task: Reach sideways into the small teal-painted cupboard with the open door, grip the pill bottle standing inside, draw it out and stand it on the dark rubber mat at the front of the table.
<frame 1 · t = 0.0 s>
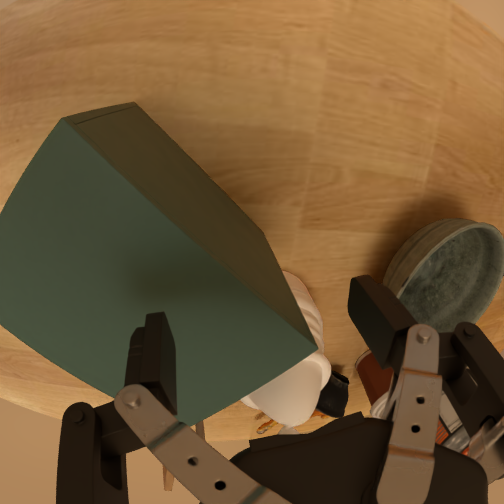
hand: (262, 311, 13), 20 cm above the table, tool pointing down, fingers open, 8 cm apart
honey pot: (261, 310, 39), on the table
cupboard door: (189, 409, 34), point 9 cm above the table, hinge at 125.0°
coffee cup: (370, 358, 50), on the table
cupboard: (156, 213, 30), on the table
bowl: (414, 259, 41), on the table
fried food: (296, 391, 51), on the table
supplement tub: (426, 360, 56), on the table
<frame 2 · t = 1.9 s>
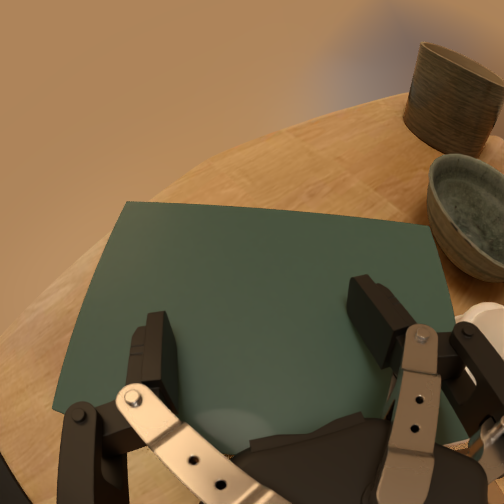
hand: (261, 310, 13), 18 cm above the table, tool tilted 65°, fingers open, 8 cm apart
planter: (442, 134, 60), on the table
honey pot: (428, 394, 26), on the table
cupboard: (261, 390, 28), on the table
bowl: (462, 250, 38), on the table
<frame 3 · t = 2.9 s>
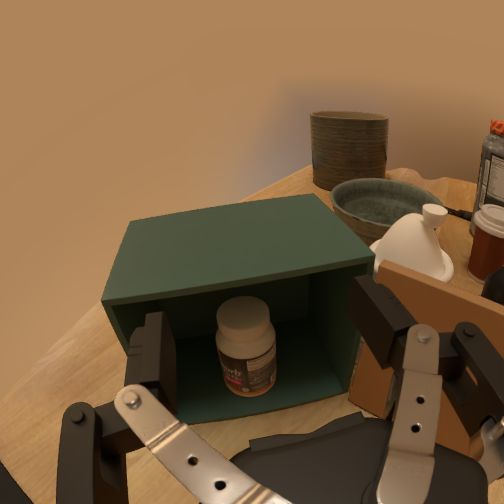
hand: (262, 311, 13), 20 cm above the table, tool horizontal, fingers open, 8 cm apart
pill bottle: (251, 379, 32), resting on cupboard
planter: (348, 182, 87), on the table
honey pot: (389, 337, 36), on the table
knife: (438, 208, 68), on the table
cupboard door: (467, 368, 20), point 9 cm above the table, hinge at 125.0°
coffee cup: (481, 275, 43), on the table
cupboard: (248, 367, 34), on the table
bowl: (382, 247, 54), on the table
supplement tub: (497, 240, 53), on the table
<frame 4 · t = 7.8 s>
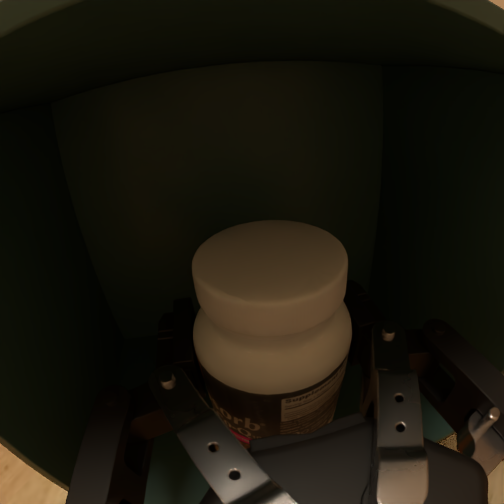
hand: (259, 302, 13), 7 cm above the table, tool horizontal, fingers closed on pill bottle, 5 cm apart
pill bottle: (276, 420, 14), resting on cupboard, touching gripper
cupboard: (268, 395, 16), on the table
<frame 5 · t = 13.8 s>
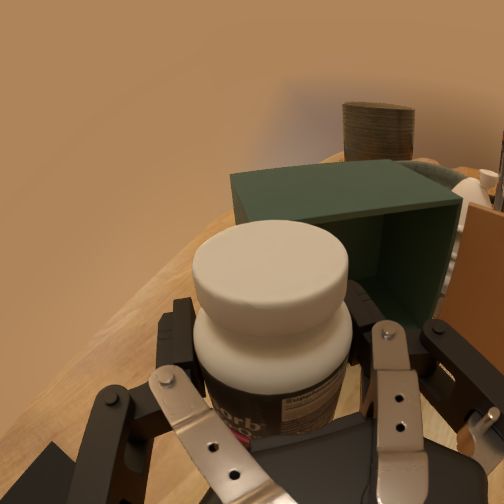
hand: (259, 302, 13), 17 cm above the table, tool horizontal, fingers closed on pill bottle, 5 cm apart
pill bottle: (276, 420, 14), point 11 cm above the table, touching gripper
planter: (377, 169, 88), on the table
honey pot: (447, 293, 37), on the table
cupboard: (333, 321, 36), on the table
bowl: (422, 222, 56), on the table
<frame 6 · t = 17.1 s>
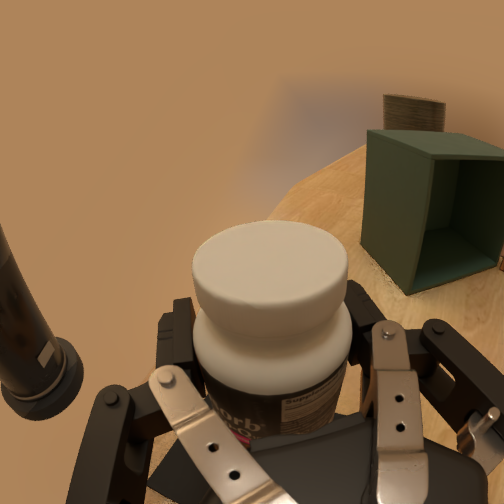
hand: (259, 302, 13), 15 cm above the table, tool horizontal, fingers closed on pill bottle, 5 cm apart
pill bottle: (276, 420, 14), point 9 cm above the table, touching gripper
planter: (412, 154, 93), on the table
mat: (275, 467, 19), on the table
cupboard: (432, 255, 41), on the table
when the fingers open (7 cm above the table, at t = 19.8 s): pill bottle stays where it is, resting on mat.
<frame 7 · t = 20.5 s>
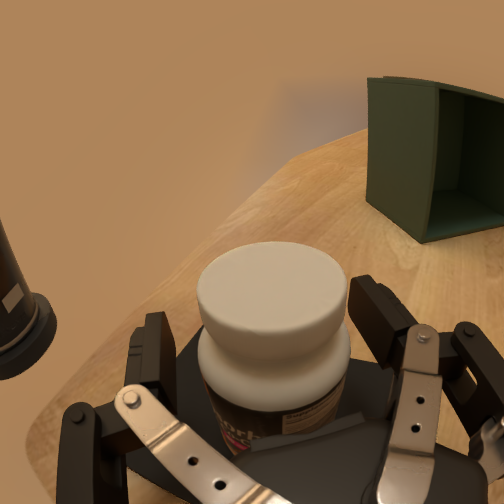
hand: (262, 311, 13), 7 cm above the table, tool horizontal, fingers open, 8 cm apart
pill bottle: (277, 429, 15), resting on mat
mat: (277, 429, 15), on the table
cupboard: (443, 211, 37), on the table
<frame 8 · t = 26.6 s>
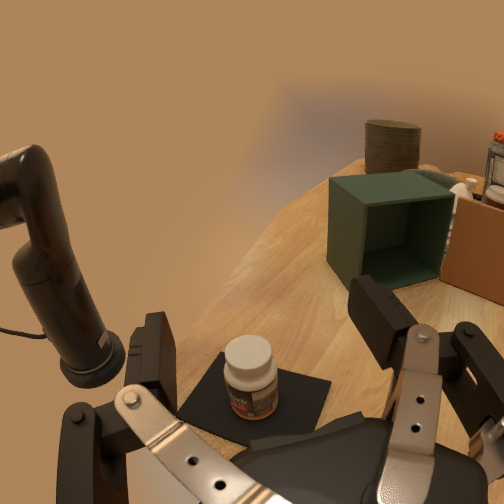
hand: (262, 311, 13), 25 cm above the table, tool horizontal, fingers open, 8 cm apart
pill bottle: (255, 403, 35), resting on mat
planter: (391, 174, 110), on the table
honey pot: (448, 255, 58), on the table
mat: (255, 403, 35), on the table
knife: (457, 192, 91), on the table
cupboard door: (496, 250, 43), point 9 cm above the table, hinge at 125.0°
coffee cup: (492, 230, 66), on the table
cupboard: (382, 269, 57), on the table
bowl: (428, 213, 77), on the table
supplement tub: (499, 213, 75), on the table
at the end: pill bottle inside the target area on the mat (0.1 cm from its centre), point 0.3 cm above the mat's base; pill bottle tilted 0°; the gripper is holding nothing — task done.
